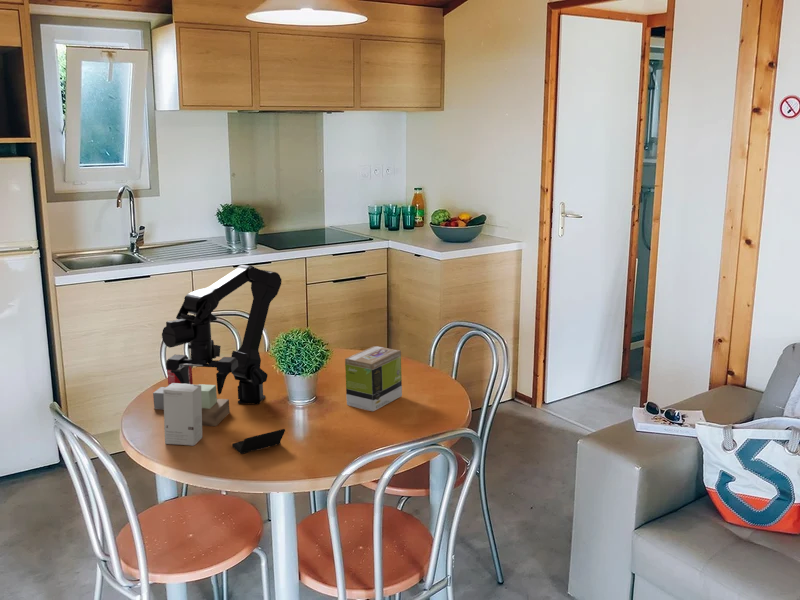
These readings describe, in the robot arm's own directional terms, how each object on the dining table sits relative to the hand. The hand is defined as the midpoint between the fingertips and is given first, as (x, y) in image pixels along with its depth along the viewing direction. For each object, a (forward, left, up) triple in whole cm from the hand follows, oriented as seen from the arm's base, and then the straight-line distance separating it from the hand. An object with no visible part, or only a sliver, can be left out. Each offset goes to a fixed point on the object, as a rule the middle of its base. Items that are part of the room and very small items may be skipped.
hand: (203, 393), depth 212 cm
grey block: (+15, -7, -8) cm, 18 cm away
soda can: (+14, -15, -8) cm, 22 cm away
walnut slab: (0, 0, -7) cm, 7 cm away
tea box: (-44, -20, -8) cm, 49 cm away
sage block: (0, 0, -3) cm, 3 cm away
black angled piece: (-21, +16, -8) cm, 28 cm away
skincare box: (-1, +15, -8) cm, 17 cm away
